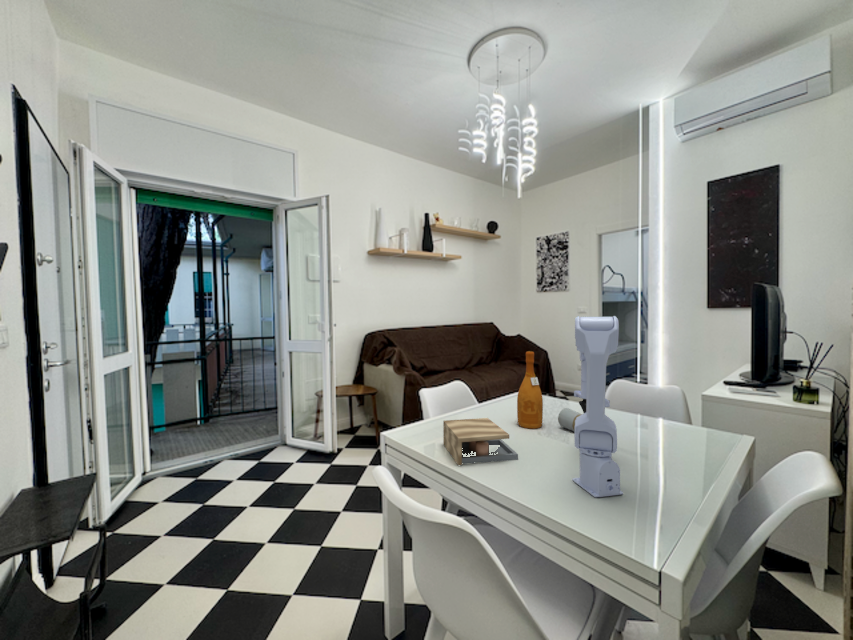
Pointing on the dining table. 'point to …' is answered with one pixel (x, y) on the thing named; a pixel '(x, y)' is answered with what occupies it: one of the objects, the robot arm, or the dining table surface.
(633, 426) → the dining table surface
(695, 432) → the dining table surface
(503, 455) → the tray
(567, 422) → the ceramic mug
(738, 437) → the dining table surface
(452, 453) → the wooden l-shaped bracket
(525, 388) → the wine bottle
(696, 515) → the dining table surface
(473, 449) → the peg
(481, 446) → the pink round cylinder
